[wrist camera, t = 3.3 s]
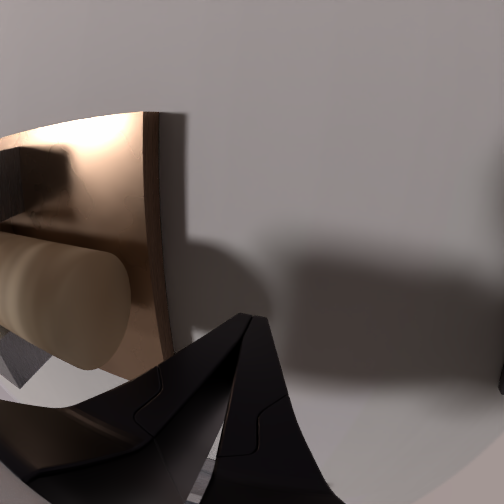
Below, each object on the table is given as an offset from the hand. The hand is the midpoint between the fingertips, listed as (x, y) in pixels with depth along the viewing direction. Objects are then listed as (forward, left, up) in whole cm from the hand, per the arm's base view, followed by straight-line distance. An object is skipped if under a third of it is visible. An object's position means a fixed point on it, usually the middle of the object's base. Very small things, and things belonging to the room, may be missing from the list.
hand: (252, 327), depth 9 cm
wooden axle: (+5, +11, -1) cm, 12 cm away
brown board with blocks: (+6, +13, -2) cm, 14 cm away
